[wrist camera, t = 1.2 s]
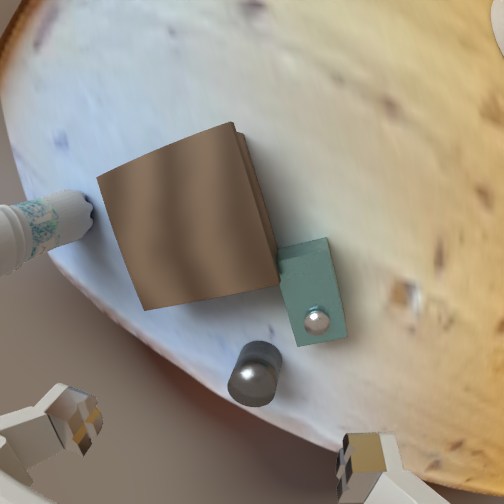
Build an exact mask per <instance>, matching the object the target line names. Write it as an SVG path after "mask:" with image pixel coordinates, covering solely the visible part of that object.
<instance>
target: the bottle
mask: <svg viewBox="0 0 504 504" xmlns="http://www.w3.org/2000/svg"><path fill="white" fill-rule="evenodd" d="M85 198H86V196H85V194H84V193H82V192H80V191H73V190H64V191H60V192H56V193H53V194H51V195H48V196H45V197H42V198H38V199H34V200H30V201H27V202H23V203H19V204H16V205H12V206H6V205H0V276H3V275H8V274H10V273H11V272H13V270H17V269H19V268H20V267H21V266H22V264H23V263H24V262H26V261H28V260H30V259H32V258H34V257H36V256H38V255H41V254H43V253H45V252H47V251H49V250H52V249H54V248H56V247H59V246H62V245H66V244H69V243H72V242H74V241H76V240H79V239H80V238H82V237H83V236H84V235H85V233H86V232H87V231H88V230H89V229H90V228H91V226H92V224H93V219H92V218H90V213H91V211H92V210H93V206H92V204H90V203H88V202H86V200H85Z"/></svg>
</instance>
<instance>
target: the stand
mask: <svg viewBox="0 0 504 504" xmlns="http://www.w3.org/2000/svg"><path fill="white" fill-rule="evenodd" d="M96 178H97V181H98V184H99V188H100V191H101V194H102V197H103V201H104V204H105V207H106V210H107V213H108V216H109V219H110V222H111V225H112V228H113V231H114V234H115V237H116V240H117V242H118V245H119V248H120V251H121V253H122V256H123V259H124V262H125V264H126V267H127V269H128V272H129V275H130V277H131V280H132V282H133V285H134V287H135V290H136V292H137V295H138V297H139V299H140V302H141V304H142V307H143V309H144V311H147V310H152V309H158V308H163V307H169V306H174V305H180V304H185V303H191V302H196V301H201V300H206V299H212V298H217V297H222V296H227V295H232V294H237V293H242V292H247V291H252V290H256V289H261V288H266V287H271V286H276V285H280V282H281V278H280V275H279V271H278V268H277V264H276V261H275V256H276V253H277V251H278V248H277V245H276V241H275V238H274V234H273V231H272V227H271V224H270V221H269V217H268V214H267V211H266V207H265V204H264V200H263V197H262V194H261V190H260V187H259V184H258V180H257V177H256V174H255V171H254V167H253V164H252V161H251V158H250V154H249V151H248V148H247V145H246V141H245V138H244V135H243V133H239V132H236V129H235V126H234V123H233V122H228V123H225V124H222V125H219V126H216V127H214V128H211V129H208V130H205V131H203V132H200V133H197V134H195V135H192V136H189V137H187V138H184V139H182V140H179V141H177V142H174V143H172V144H169V145H167V146H164V147H162V148H160V149H157V150H155V151H153V152H150V153H148V154H146V155H143V156H141V157H139V158H137V159H134V160H132V161H130V162H128V163H125V164H123V165H121V166H119V167H117V168H115V169H113V170H111V171H108V172H106V173H104V174H102V175H100V176H98V177H96Z"/></svg>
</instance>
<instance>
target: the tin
mask: <svg viewBox="0 0 504 504" xmlns="http://www.w3.org/2000/svg"><path fill="white" fill-rule="evenodd" d="M281 362H282V357H281V354H280V352H279V350H278V349H277V348H276V347H275V346H274V345H272V344H270V343H268V342H264V341H253V342H250V343H248V344H246V345H245V346H244V347H243V348H242V350H241V352H240V355H239V357H238V360H237V362H236V365H235V367H234V369H233V372H232V374H231V377H230V379H229V382H228V392H229V394H230V395H231V397H232V398H233V399H234V400H235V401H237V402H238V403H240V404H242V405H245V406H249V407H261V406H264V405H267V404H268V403H270V402H271V401H272V400H273V398H274V395H275V391H276V386H277V381H278V377H279V372H280V367H281Z"/></svg>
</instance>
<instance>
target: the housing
mask: <svg viewBox="0 0 504 504" xmlns="http://www.w3.org/2000/svg"><path fill="white" fill-rule="evenodd" d="M275 261H276V264H277V268H278V271H279V275H280V278H281V282H280V285H279V286H280V289H281V292H282V296H283V299H284V302H285V306H286V309H287V313H288V316H289V319H290V323H291V326H292V330H293V333H294V336H295V340H296V343H297V347H300V346H305V345H310V344H316V343H321V342H326V341H331V340H336V339H340V338H345V337H347V329H346V321H345V314H344V310H343V305H342V300H341V296H340V291H339V287H338V282H337V278H336V274H335V269H334V265H333V261H332V257H331V253H330V249H329V245H328V241H327V237H325V238H321V239H317V240H312V241H308V242H304V243H300V244H296V245H292V246H288V247H284V248H280V249H278V251H277V253H276V256H275Z"/></svg>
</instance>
